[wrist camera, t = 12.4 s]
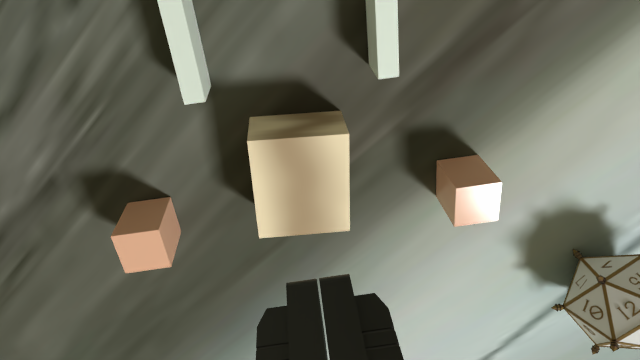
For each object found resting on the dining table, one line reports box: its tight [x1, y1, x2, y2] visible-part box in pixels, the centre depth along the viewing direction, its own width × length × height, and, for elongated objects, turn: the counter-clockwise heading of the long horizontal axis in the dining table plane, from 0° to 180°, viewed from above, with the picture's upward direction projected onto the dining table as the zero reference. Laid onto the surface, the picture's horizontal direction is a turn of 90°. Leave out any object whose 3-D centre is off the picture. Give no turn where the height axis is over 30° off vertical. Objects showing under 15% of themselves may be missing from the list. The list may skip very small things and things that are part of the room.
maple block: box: [247, 111, 350, 238], centre depth 31 cm, size 6×7×4 cm
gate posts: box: [111, 155, 502, 273], centre depth 32 cm, size 25×3×4 cm, turn 96°
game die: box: [552, 249, 640, 354], centre depth 37 cm, size 9×8×10 cm
